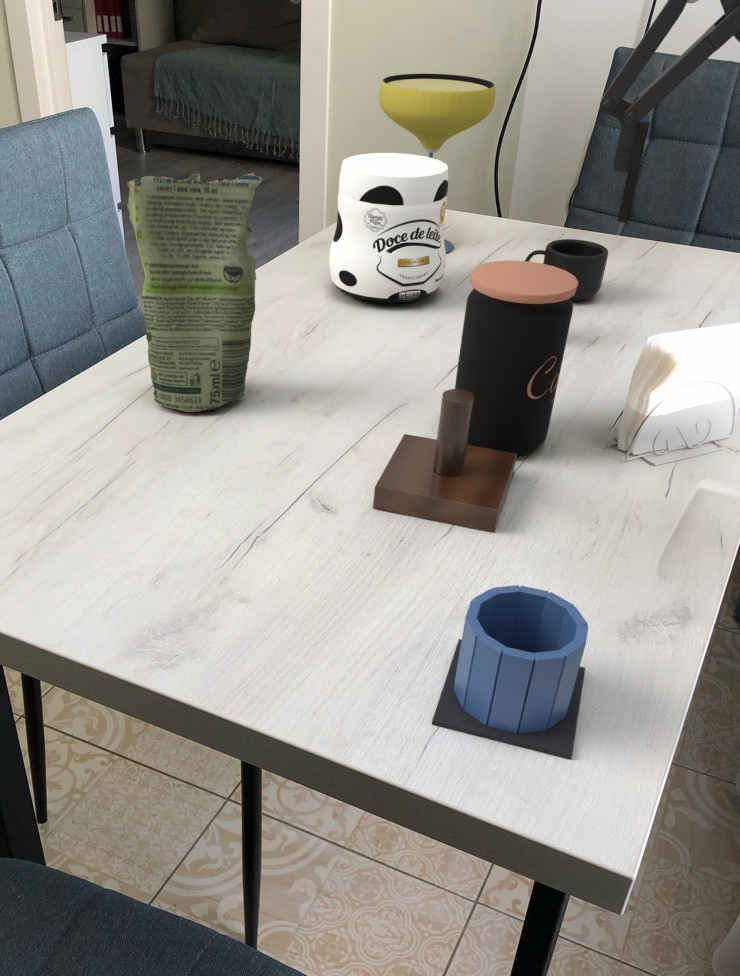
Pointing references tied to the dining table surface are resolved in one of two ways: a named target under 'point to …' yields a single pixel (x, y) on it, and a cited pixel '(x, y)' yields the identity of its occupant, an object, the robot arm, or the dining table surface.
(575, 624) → the ring
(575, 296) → the mug
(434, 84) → the cocktail glass
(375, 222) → the doce de leite jar
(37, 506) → the dining table surface
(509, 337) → the coffee jar
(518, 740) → the mat
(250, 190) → the pouch
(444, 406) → the stand
